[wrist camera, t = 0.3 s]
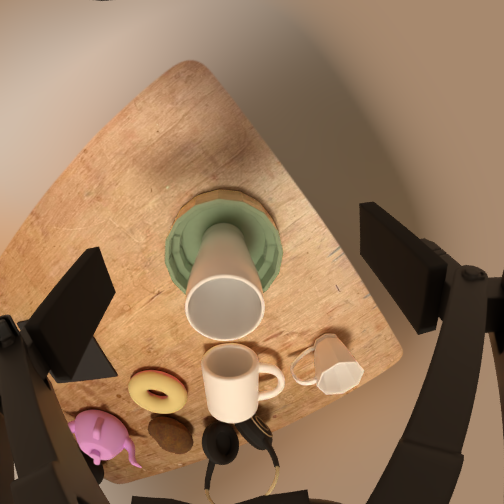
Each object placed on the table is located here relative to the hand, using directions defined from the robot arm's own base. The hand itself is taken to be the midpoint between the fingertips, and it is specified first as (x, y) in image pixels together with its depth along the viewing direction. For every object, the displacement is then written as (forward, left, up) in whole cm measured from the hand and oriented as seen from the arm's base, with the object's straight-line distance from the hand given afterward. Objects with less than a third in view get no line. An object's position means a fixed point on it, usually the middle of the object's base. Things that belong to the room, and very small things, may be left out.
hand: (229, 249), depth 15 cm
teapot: (+40, -38, -24) cm, 59 cm away
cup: (+30, +6, -24) cm, 38 cm away
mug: (+30, -6, -24) cm, 38 cm away
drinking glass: (+9, -3, -23) cm, 25 cm away
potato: (+42, -23, -24) cm, 53 cm away
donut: (+31, -21, -24) cm, 44 cm away
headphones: (+43, -11, -24) cm, 50 cm away
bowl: (+9, -3, -24) cm, 25 cm away
